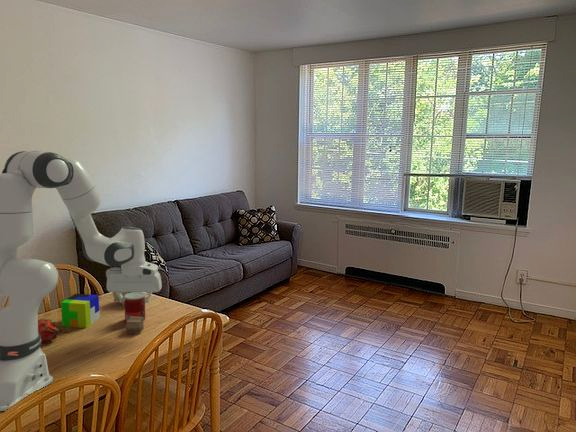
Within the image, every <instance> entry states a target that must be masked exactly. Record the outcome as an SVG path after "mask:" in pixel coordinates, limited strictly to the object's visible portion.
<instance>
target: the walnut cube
mask: <svg viewBox="0 0 576 432" xmlns="http://www.w3.org/2000/svg"><path fill="white" fill-rule="evenodd" d="M144 321H145V320H144ZM144 321H143V317H130V318H129V319H128V320H127V322H126V334H127V335H141V334H142V332H143V330H144V328H145V327H144V326H145V325H144V323H145V322H144Z"/></svg>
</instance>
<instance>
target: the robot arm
mask: <svg viewBox="0 0 576 432" xmlns="http://www.w3.org/2000/svg"><path fill="white" fill-rule="evenodd" d="M36 189H55V190H57V192H58V195H59V197H60V199H61V200H62V202H63V204H64V205H65V208H66V209H67V210H68V213H69V214H68V215H69V216H70V218H71V221H72V224H73V225H74V227H75V229H76V231H77V233H78V236H79V238H80V242H81V249H82V253H83V256H84V257H85V258H86V260H89V261H90V262H96V263H99V264H102V265H105V266H109V267H110V268H108V269H106V271H105V276H106V291H108V292H110V293H113V292H116V293H117V296H118V297H119V298H120V302H125V297H123V296H122V294H121V293H122V292H141V293H147V295H148V296H145V304H147V303H150V301H151V300H150V299H151V296H152V294H153V293H159V292H160V291H161V289H162V286H163V285H162V284H163V283H162V277H161V274H160V272H159V266H158V265H157V264H155V263H153V262H148V261H146V257H145V250H146V244H145V242H146V241H145V235H144V232H143V230H142V228H140V227H136V226H123V227H121V229H120V231H118V232H117V233H116V234H115V235H114V236H112V237H107V236H105V235H103V234H101V233H100V231H98V228H97V226H96V224H95V221H94V218H93V217H92V214H93V213H95V211H97V210H98V209H99V206H100V205H101V197H100V193H99V190H98V188H97V186H96V184H95V182H94V180H93V178H92V177H91V175H90V174H89V172H88V171H87V169H86V168H85V167H84V165H83V164H82V163H81V162H80V161H78V160H77V159H74V158H65V157H64V156H63V155H60V154H58V153H55V152H51V151H47V152H46V151H40V150H27V151H26V150H25V151H24V150H23V151H17V152H15V153H13V154H11V155H10V156H9V157H8V158H7V160H6V161H5V164H4V167H3V170H2V171H1V173H0V296H8V305H7V306H5V307H3V308H1V309H0V412H2V411H3V412H5V411H8V410H7V409H8V408H10V407H11V406H13V405H14V404H16V403H17V402H19V401H20V400H21V399H23V398H24V397H26V396H28V395H29V394H31V393H33V392H34V391H36V390H39V389H41V388H43V387H44V388H46V387H47V386H48V385H49V384H50V383H52V382H53V381H54V377H53V376H52V374H50V372H49V367H48V361H47V357H46V354H45V353H44V351H43V350H42V348H41V346H42V341H41V337H40V333H39V332H38V320H39V318H38V316H39V308H40V305H41V303H42V302H43V300H44V299H45V297H47V296H48V295H49V294H50V293H51V292H53V290H54V289H55V288H56V287H57V284H58V280H59V272H58V269H57V268H56V266H55V265H54V263H51V262H48V261H45V260H41V259H37V258H18V257H17V253H18V250H19V248H20V247H21V246H23V245H25V244H26V243H28V242H29V241H30V240H31V238H32V237H33V235H34V224H33V223H34V221H33V201H32V199H33V195H34V193H35V191H36ZM45 386H46V387H45ZM44 388H43V389H44Z"/></svg>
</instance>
